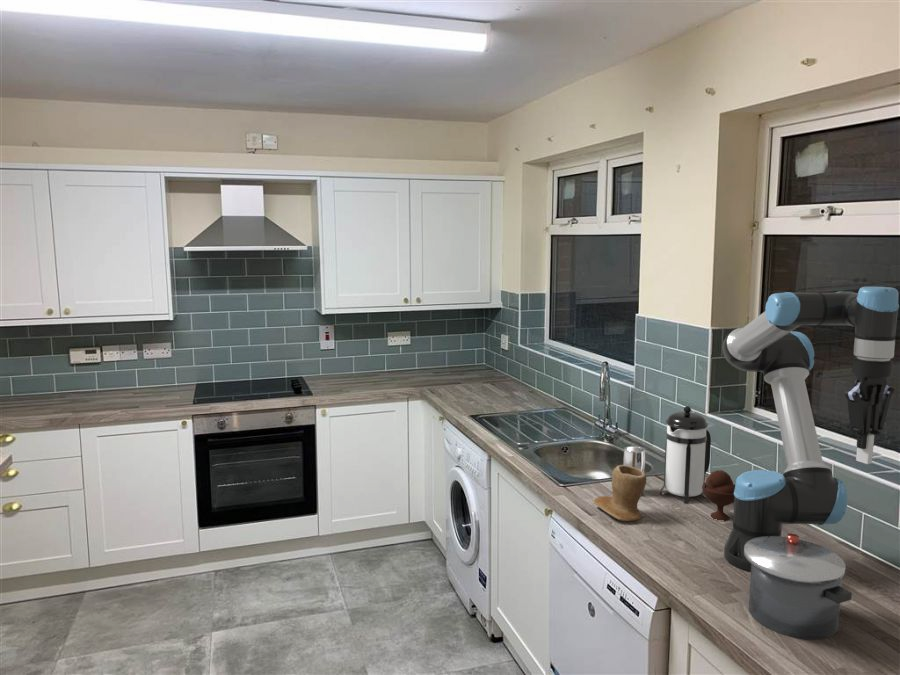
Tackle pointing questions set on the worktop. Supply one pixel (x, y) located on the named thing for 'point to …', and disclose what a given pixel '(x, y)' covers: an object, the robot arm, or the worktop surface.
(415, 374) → the worktop surface
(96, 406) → the worktop surface
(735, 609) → the worktop surface
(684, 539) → the worktop surface
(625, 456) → the silver metal cylinder
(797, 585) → the pressure cooker pot
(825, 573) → the pot lid
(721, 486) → the ice cream bowl
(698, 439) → the coffee press
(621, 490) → the tan flared hollow piece
